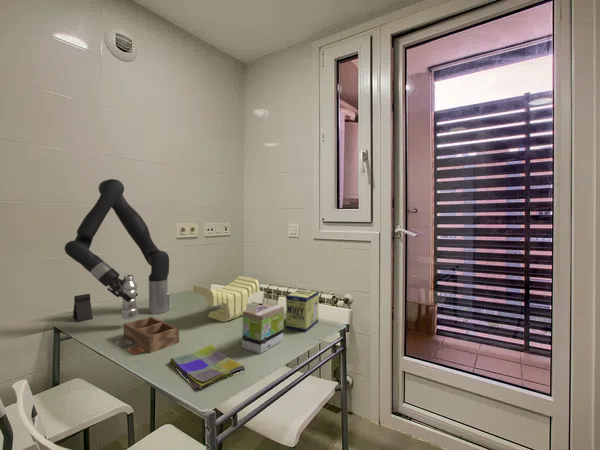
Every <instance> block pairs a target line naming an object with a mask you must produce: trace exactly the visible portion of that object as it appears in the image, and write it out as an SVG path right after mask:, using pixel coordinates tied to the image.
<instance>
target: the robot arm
mask: <svg viewBox="0 0 600 450" xmlns="http://www.w3.org/2000/svg"><path fill="white" fill-rule="evenodd" d="M98 192H99V194H100V195H99V196H98V197H99V198H98V200H97V201H96V202H95V204H94V205H93V207H92V208H91V209H90V210H89V211H88V213H87V214H86V215H85V217H84V218H83V219H82V221H81V223H80V225H79V226H78V228H77V230H76V237H75V238H74V240H70V241H68V242H67V243H65V245H64V252H65V254H66V255H68V257H70V258H71V259H73V260H74V261H75V262H76V263H78V264H80V265H81V266H82V267H83V268H84V269H85V270H86V271H87V272H89V273H90V274H91V275H92V276H93V277H94V278H95V279H96V280H97V281H98V282H99V283H100V284H101V285H102V286H104V287H107V288H106V289H107V291H108V292H110V293H111V294H112V295H113V296H115V297H117V298H121V299H122V298H124V299H125V300H126V301H127V302H129V301H130V300H131V299H132V298H131V297H130V296H129V295H128V294H126V293H125V292H124V291H123V288H122V284H123V283H124V281H125V280H124V278H123V279H121V278H119V277H120V273H119V272H118V271H117V270H116V269H114V267H112V266H111V265H110V264H108V263H107V262H105V261H104V260H103V259H102V258H100V257H99V256H98V255H97V254H95V253H94V252H92V251H91V250H90V248H91V245H92V243H93V239H94V238H95V236H96V234H97V232H98V231H99V229H100V227H101V225H102V224H103V222H104V220H105V218H106V216H107V215H108V213H109V212H110V210H111V209H112V210H113V212H114V213H115V215H116V217H117V218H118V220H119V221H120V224H122V226H123V228H124V229H125V231H126V232H127V234H128V235H129V236H130V238H131V239H132V240H133V242H134V243H135V244H136V246H137V247H138V248H139V250H140V251H141V254H142V255H143V257H144V259H145V261H146V263H147V264H148V265H149V266H150V267H151V268H150V269H151V270H150V271H151V272H150V274H149V275H148V314H149V313H150V314H153V315H158V314H163V313H166V312H168V311H170V292H168V290H169V289H168V286H169V284H168V276H169V274H170V273H169V272H170V257H169V254H168V253H167V252H166V251H163V250H160V249H159V248H158V247H157V245H156V244H155V243H154V242H153V240H152V237H151V233H150V230H149V227H148V226H147V224H146V222H145V220H144V219H143V218H142V216H141V215H140V214H139V213H138V212H137V211H136V209H134V208H133V207H132V206H131V205H130V204H129V203H128V201H127V200H126V198H125V197H124V195H123V194H124V192H125V186H124V184H123V182H121V181H120V180H118V179H115V178H109V179H105V180H103V181H101V182H100V183H99V185H98ZM121 291H122V292H121ZM138 295H139V294H138V293H137V292H136V297H137V296H138Z"/></svg>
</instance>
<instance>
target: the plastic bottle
mask: <svg viewBox="0 0 600 450" xmlns="http://www.w3.org/2000/svg"><path fill="white" fill-rule="evenodd" d="M123 279H124V280H125V281H124V283H123V284H122V288H123V291H124V292H125V293H126V294H128V295H129V296H130V297H131V298H132V299H131V300H130V301H129V302H127V301H126V300H125V299H124V298H122V297H121V299H122V309H121V317H122V319H124V320H130V319H134V318H136V317H137V316H138V313H139V310H138V307H137V296H136V293H137V290H138V289H137V288H138V285H137V283H136V282H135V281H134V275H133V274H126V275H124V276H123ZM121 292H122V291H121Z"/></svg>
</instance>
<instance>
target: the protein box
mask: <svg viewBox="0 0 600 450" xmlns="http://www.w3.org/2000/svg"><path fill="white" fill-rule="evenodd" d="M319 295H320V291H318V290H314V289H312V290H311V289H306V288H299V289H297V290H295V291H293V292H291V293H289V294H287V295H286V296H285V301H286V302H285V309H286V310H285V317H286V318H285V329H289V330H293V331H294V330H295V331H299V332H303V333H307V332H308V331H309V330H310V329H311V328H313V327H314V326H315V325H316V324H317V323H319V299H320V298H319Z"/></svg>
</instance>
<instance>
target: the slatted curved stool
mask: <svg viewBox="0 0 600 450" xmlns="http://www.w3.org/2000/svg"><path fill="white" fill-rule="evenodd" d="M192 289H193V290H192V291H193V292H195V293H198V294H199V295H202V296H203V297H204V298H206V302H207V306H210V307H215V306H217V305H218V304H220V305H222V308H220V309H217V310H212V311H210V312H209V314H208V316H207V317H208V318H210V319H211V318H212V319H214V320H217V321H220V322H223V323H225V322H228V321H232V320H233V319H236V318H239V317H243V312H244V311H246V310H247V306H248V301H249V298H250V297H251V296H252V295H255V294H260V283H259V281H258V279H256V278H254V277H248V276H242V275H238V276H237V278H236V279H234V280H233V281H231V282H230V283H228V284H227V285H225V286H222V287H220V288H216V289H210V288H206V287H200V286H196V285H193V288H192Z"/></svg>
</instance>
